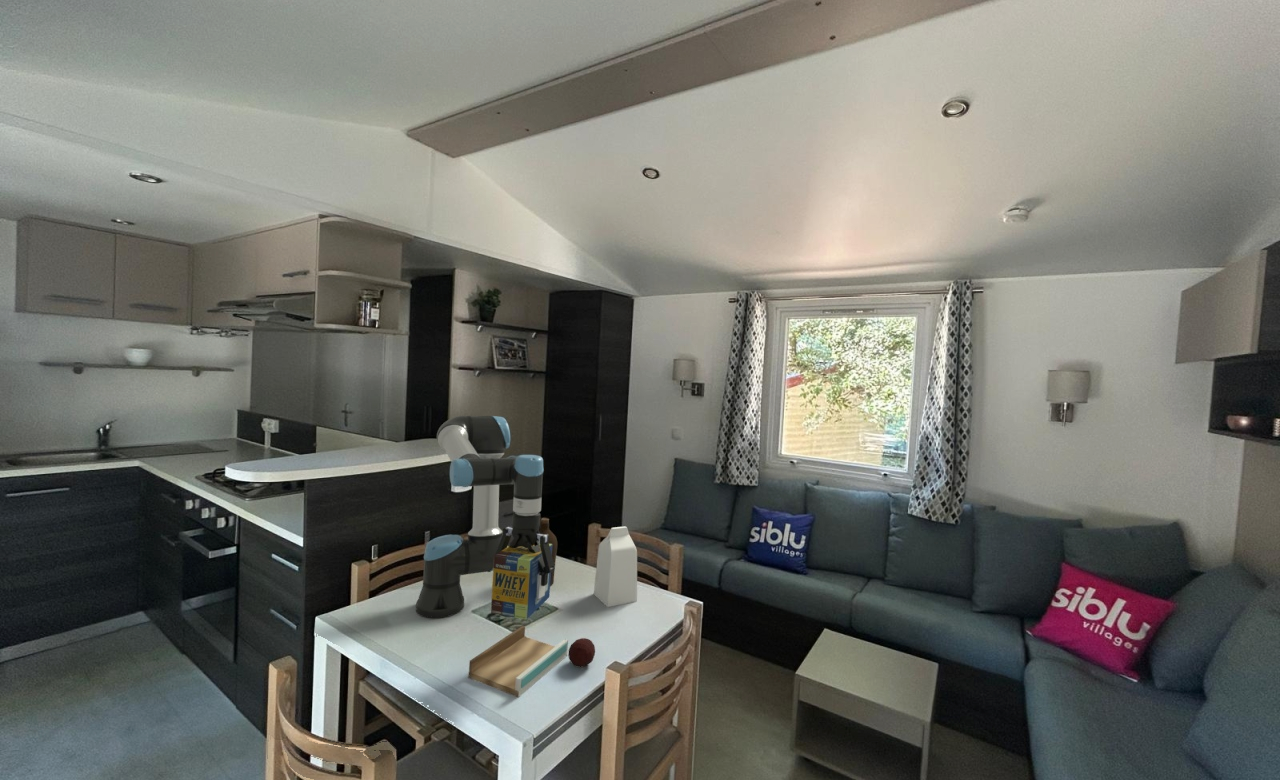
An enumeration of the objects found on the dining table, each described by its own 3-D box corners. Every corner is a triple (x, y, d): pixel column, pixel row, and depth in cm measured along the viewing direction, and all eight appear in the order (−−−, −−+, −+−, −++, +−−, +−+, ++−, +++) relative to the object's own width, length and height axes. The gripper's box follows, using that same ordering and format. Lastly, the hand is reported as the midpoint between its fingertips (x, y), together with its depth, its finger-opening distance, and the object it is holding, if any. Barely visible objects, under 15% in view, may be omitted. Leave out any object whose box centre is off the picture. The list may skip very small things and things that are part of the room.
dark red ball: (597, 659, 144) (598, 635, 144) (589, 675, 136) (590, 649, 136) (572, 655, 145) (574, 631, 145) (563, 670, 138) (565, 644, 138)
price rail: (514, 695, 125) (515, 677, 125) (563, 654, 145) (564, 639, 145) (519, 697, 125) (520, 679, 125) (567, 655, 145) (568, 640, 145)
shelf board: (468, 677, 132) (468, 671, 132) (521, 640, 152) (521, 635, 152) (518, 697, 125) (518, 691, 125) (566, 655, 145) (567, 650, 145)
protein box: (489, 614, 132) (493, 555, 132) (517, 591, 147) (519, 538, 147) (527, 620, 129) (530, 560, 129) (550, 596, 144) (553, 542, 144)
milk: (607, 606, 178) (612, 533, 177) (593, 594, 188) (597, 524, 187) (636, 601, 184) (641, 530, 183) (621, 589, 194) (626, 521, 193)
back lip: (468, 677, 132) (469, 660, 132) (521, 640, 152) (522, 625, 152) (471, 678, 131) (472, 661, 131) (524, 641, 151) (525, 626, 151)
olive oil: (551, 590, 189) (555, 523, 189) (523, 587, 189) (527, 521, 189) (557, 579, 200) (561, 516, 199) (531, 576, 200) (534, 514, 200)
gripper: (483, 508, 139) (479, 587, 140) (555, 522, 129) (550, 607, 130) (501, 503, 146) (497, 578, 146) (570, 516, 136) (566, 596, 136)
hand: (522, 591), depth 138 cm, fingers closed on protein box, 11 cm apart
